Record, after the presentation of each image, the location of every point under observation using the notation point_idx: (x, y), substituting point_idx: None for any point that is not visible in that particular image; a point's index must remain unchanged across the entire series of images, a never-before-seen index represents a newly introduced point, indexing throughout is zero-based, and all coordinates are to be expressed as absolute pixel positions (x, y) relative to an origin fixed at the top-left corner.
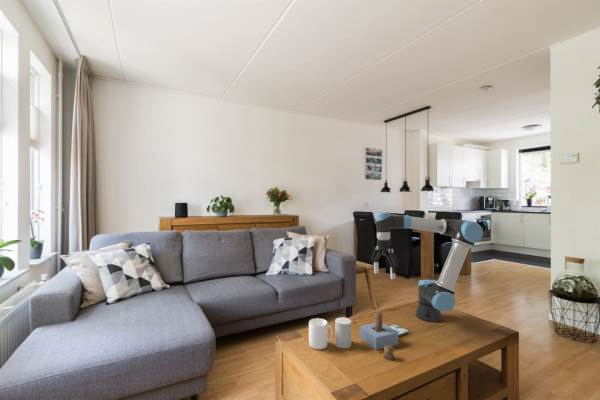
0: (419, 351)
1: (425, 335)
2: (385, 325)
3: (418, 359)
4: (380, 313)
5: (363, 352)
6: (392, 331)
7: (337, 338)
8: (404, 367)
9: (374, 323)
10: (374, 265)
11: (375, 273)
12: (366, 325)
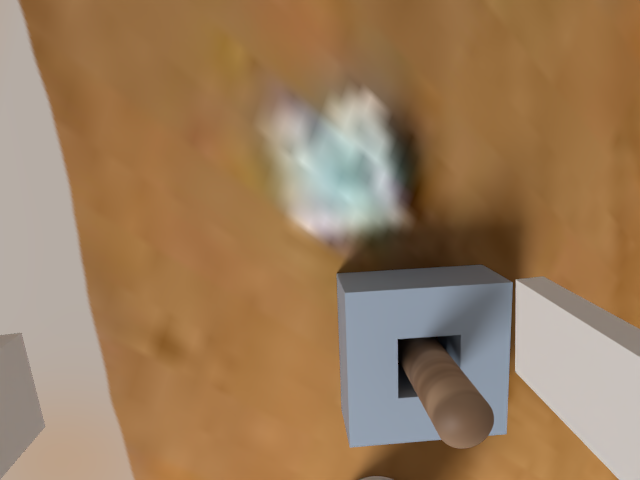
0: (578, 211)
1: (468, 39)
2: (405, 298)
3: (624, 267)
4: (464, 403)
5: (472, 460)
6: (487, 307)
7: None
8: None
9: (353, 346)
10: None
11: (41, 416)
12: (360, 407)
